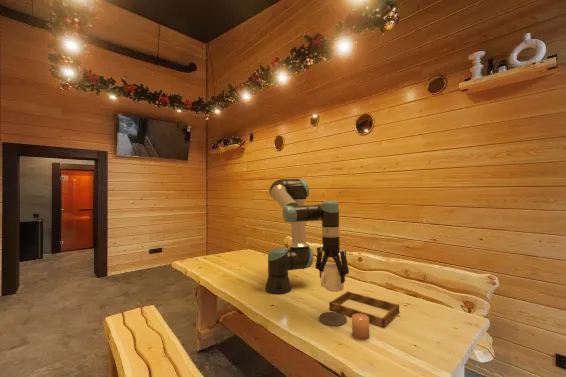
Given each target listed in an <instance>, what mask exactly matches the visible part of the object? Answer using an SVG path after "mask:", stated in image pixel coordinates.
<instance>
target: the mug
mask: <svg viewBox="0 0 566 377" xmlns="http://www.w3.org/2000/svg"><path fill="white" fill-rule="evenodd" d="M338 275H340V273H339V271H338V268H337V266H336V263H335V262H329V263H328V262H327V263H326V264H325V265H324V272H323V273H322V275H321V278H320V285H321V284H322V286H321V287H323V288H325V290H326V291H329V292H333V293H337V292H338V293H339V292H340V291H339V281H338ZM324 277H325V284H324ZM344 283H345V282H344ZM344 283H343V289H344V288H345V287H344V285H345V284H344Z"/></svg>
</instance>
